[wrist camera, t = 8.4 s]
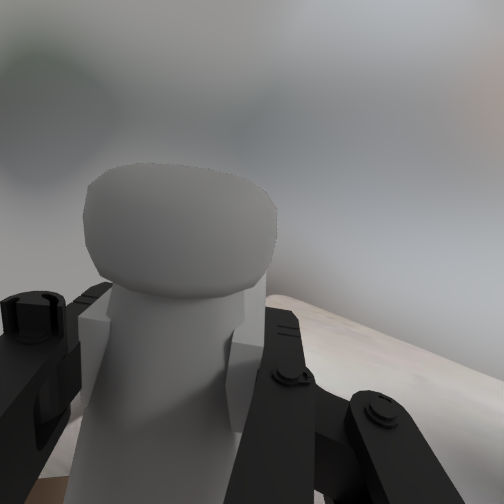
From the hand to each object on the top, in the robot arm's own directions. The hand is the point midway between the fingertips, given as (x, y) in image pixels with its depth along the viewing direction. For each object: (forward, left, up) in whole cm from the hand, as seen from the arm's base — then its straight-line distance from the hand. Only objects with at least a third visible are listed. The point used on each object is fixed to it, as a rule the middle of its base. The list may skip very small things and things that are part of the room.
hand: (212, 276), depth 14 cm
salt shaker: (+2, +5, -8) cm, 10 cm away
